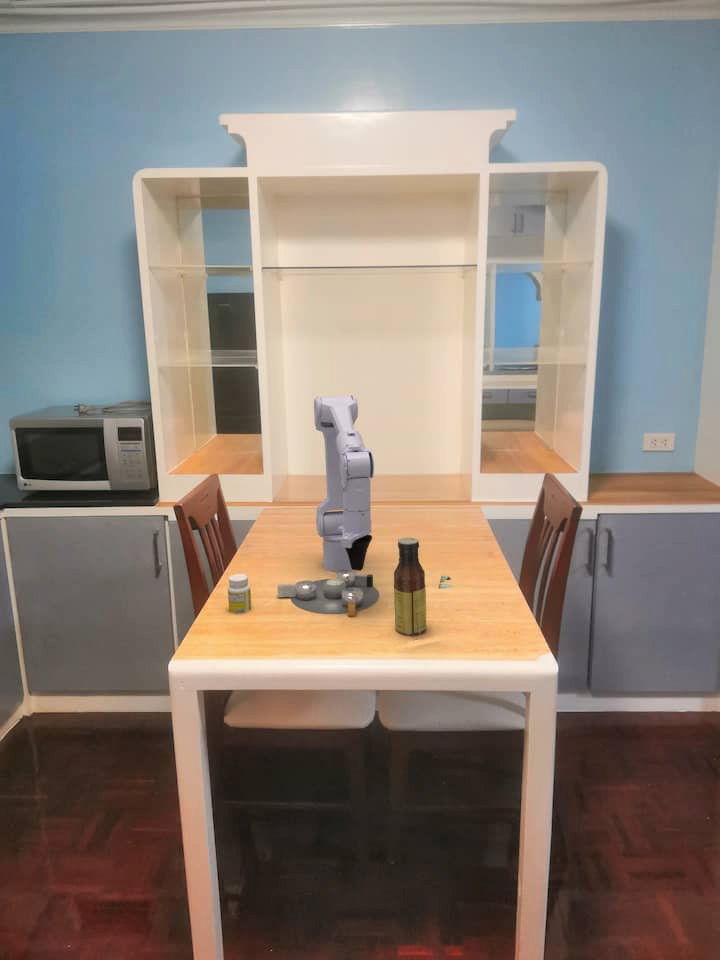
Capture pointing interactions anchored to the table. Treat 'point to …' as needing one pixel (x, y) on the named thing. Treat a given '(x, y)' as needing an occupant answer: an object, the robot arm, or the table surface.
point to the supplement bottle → (239, 594)
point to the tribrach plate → (334, 604)
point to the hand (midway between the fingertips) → (357, 569)
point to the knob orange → (352, 599)
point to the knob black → (355, 578)
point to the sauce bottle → (409, 590)
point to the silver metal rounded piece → (298, 590)
